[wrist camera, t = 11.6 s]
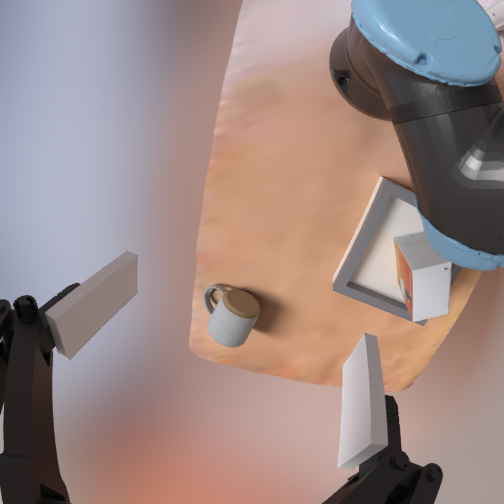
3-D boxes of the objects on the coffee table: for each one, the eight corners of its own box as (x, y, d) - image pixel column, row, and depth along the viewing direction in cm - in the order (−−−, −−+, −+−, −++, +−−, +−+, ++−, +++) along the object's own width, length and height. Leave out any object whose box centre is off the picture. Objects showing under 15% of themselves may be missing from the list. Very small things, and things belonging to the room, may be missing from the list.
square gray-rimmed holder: (380, 175, 36) (386, 180, 32) (469, 225, 34) (479, 234, 30) (332, 277, 44) (332, 290, 40) (418, 312, 42) (423, 325, 39)
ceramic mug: (267, 298, 49) (256, 325, 42) (250, 328, 52) (238, 355, 46) (214, 271, 49) (196, 293, 43) (202, 303, 53) (184, 326, 46)
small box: (392, 236, 37) (411, 269, 27) (426, 229, 35) (452, 260, 25) (396, 283, 39) (411, 323, 30) (427, 276, 37) (449, 315, 28)
